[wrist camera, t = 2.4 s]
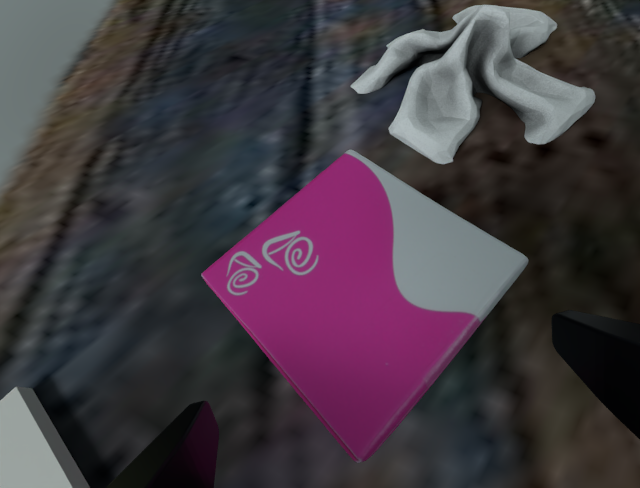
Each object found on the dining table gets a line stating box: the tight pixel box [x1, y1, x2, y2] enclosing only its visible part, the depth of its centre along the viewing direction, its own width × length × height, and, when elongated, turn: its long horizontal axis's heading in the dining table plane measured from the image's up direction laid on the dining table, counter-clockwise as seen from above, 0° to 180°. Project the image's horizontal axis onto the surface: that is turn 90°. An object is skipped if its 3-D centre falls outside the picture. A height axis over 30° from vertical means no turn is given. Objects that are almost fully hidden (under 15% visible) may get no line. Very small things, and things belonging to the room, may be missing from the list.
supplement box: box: [201, 149, 528, 463], centre depth 13 cm, size 6×6×12 cm
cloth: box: [351, 5, 595, 164], centre depth 25 cm, size 22×19×6 cm
